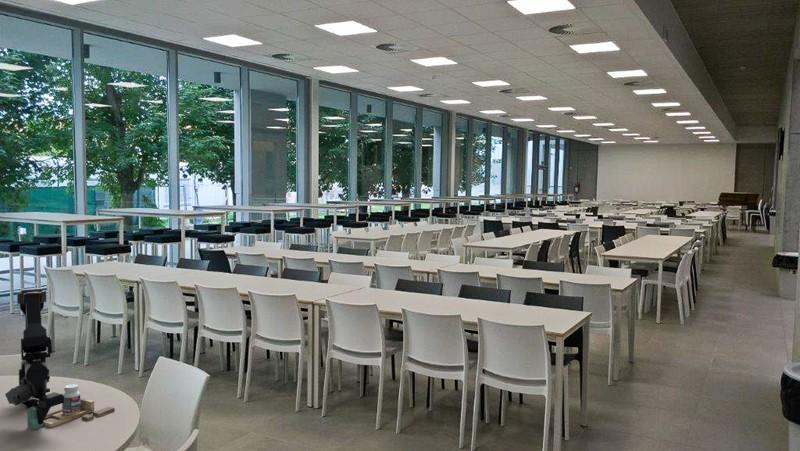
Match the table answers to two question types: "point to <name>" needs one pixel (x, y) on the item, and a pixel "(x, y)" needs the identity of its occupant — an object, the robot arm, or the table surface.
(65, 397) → the pill bottle
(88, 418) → the broken walnut strip
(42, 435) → the table surface
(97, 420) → the table surface
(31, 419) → the wooden frame with block
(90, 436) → the table surface
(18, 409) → the table surface
